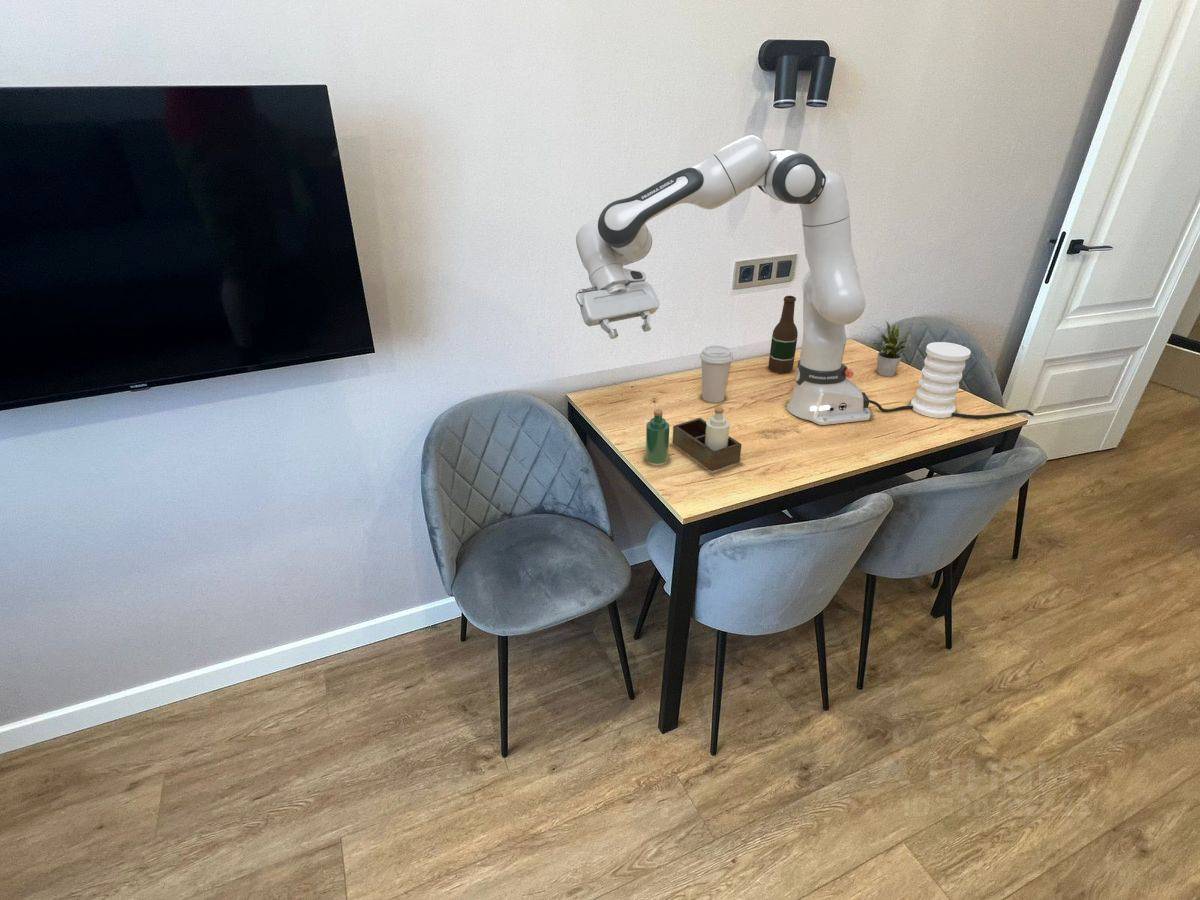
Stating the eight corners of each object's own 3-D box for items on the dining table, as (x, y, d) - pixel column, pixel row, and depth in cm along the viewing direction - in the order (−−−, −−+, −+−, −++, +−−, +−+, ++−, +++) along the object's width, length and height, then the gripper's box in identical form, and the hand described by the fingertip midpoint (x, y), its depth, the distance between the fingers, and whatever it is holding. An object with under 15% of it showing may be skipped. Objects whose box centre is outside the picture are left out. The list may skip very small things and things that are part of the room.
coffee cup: (693, 401, 189) (696, 354, 181) (701, 389, 196) (704, 342, 189) (725, 406, 185) (730, 358, 178) (732, 393, 193) (737, 346, 186)
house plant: (851, 364, 211) (860, 316, 203) (891, 362, 213) (902, 314, 204) (872, 381, 199) (882, 331, 191) (914, 379, 200) (927, 329, 192)
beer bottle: (793, 374, 205) (804, 301, 193) (768, 373, 206) (777, 299, 194) (791, 365, 211) (802, 293, 199) (767, 364, 213) (776, 292, 201)
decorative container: (964, 413, 180) (982, 352, 171) (933, 421, 176) (950, 359, 167) (931, 397, 189) (946, 339, 180) (901, 404, 185) (915, 345, 176)
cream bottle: (724, 452, 161) (729, 403, 154) (728, 464, 156) (733, 413, 149) (702, 453, 161) (705, 403, 154) (705, 464, 156) (709, 414, 149)
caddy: (672, 445, 166) (673, 425, 164) (698, 437, 170) (700, 417, 167) (711, 474, 154) (713, 453, 151) (739, 464, 158) (741, 444, 155)
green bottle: (666, 454, 162) (668, 405, 155) (668, 466, 157) (671, 416, 151) (644, 455, 162) (645, 406, 156) (646, 466, 158) (647, 416, 151)
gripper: (577, 283, 150) (598, 335, 147) (650, 271, 159) (671, 320, 156) (569, 297, 156) (589, 348, 153) (640, 285, 164) (660, 332, 162)
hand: (631, 333), depth 155 cm, fingers open, 8 cm apart
